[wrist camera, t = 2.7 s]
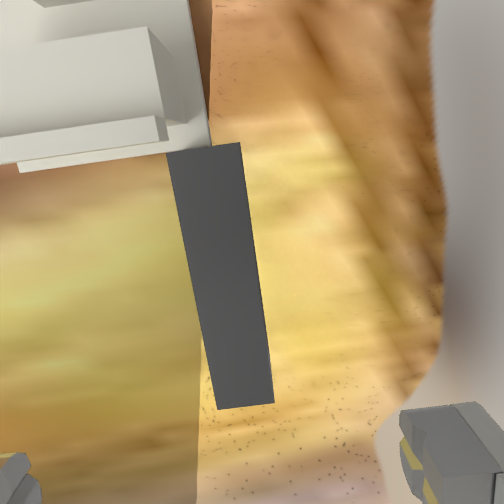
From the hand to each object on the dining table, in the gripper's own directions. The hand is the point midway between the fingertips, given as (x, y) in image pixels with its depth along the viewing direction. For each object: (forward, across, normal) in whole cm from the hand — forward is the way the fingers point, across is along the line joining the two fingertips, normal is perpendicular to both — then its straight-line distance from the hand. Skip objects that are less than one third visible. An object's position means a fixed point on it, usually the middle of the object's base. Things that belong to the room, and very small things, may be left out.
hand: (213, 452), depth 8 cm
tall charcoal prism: (+14, 0, 0) cm, 14 cm away
